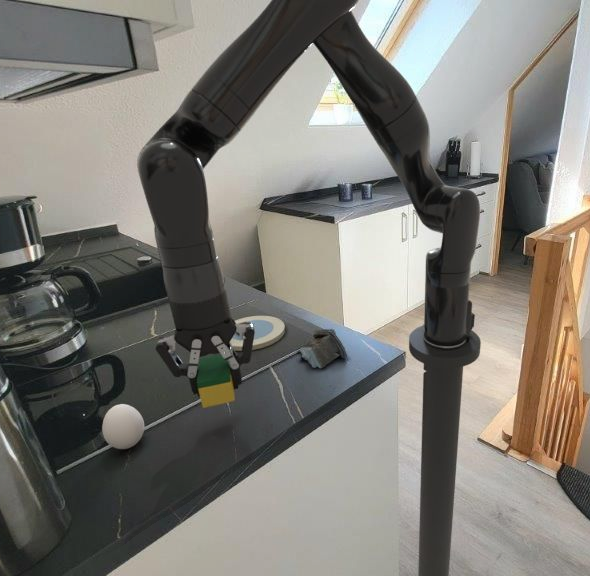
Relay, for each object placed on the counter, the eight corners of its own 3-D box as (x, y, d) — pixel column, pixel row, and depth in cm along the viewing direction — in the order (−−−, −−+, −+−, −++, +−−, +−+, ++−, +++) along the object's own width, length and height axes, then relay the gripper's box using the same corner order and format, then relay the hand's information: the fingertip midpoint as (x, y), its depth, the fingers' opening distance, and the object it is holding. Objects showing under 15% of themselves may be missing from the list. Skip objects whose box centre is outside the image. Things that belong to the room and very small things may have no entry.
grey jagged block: (288, 351, 88) (293, 335, 78) (314, 332, 92) (322, 315, 81) (315, 385, 87) (324, 373, 77) (340, 365, 91) (352, 351, 80)
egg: (128, 461, 60) (114, 421, 57) (101, 453, 61) (86, 414, 58) (156, 436, 64) (145, 398, 61) (130, 430, 66) (118, 392, 63)
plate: (281, 315, 104) (280, 311, 103) (289, 343, 91) (288, 338, 90) (219, 325, 99) (218, 321, 99) (217, 356, 86) (216, 351, 86)
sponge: (204, 382, 66) (199, 358, 64) (233, 375, 67) (229, 352, 66) (202, 408, 60) (196, 383, 58) (234, 401, 61) (229, 376, 60)
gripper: (134, 309, 51) (165, 416, 58) (251, 291, 56) (267, 393, 62) (144, 288, 58) (172, 386, 65) (248, 274, 62) (263, 367, 69)
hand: (219, 389), depth 64 cm, fingers closed on sponge, 4 cm apart
